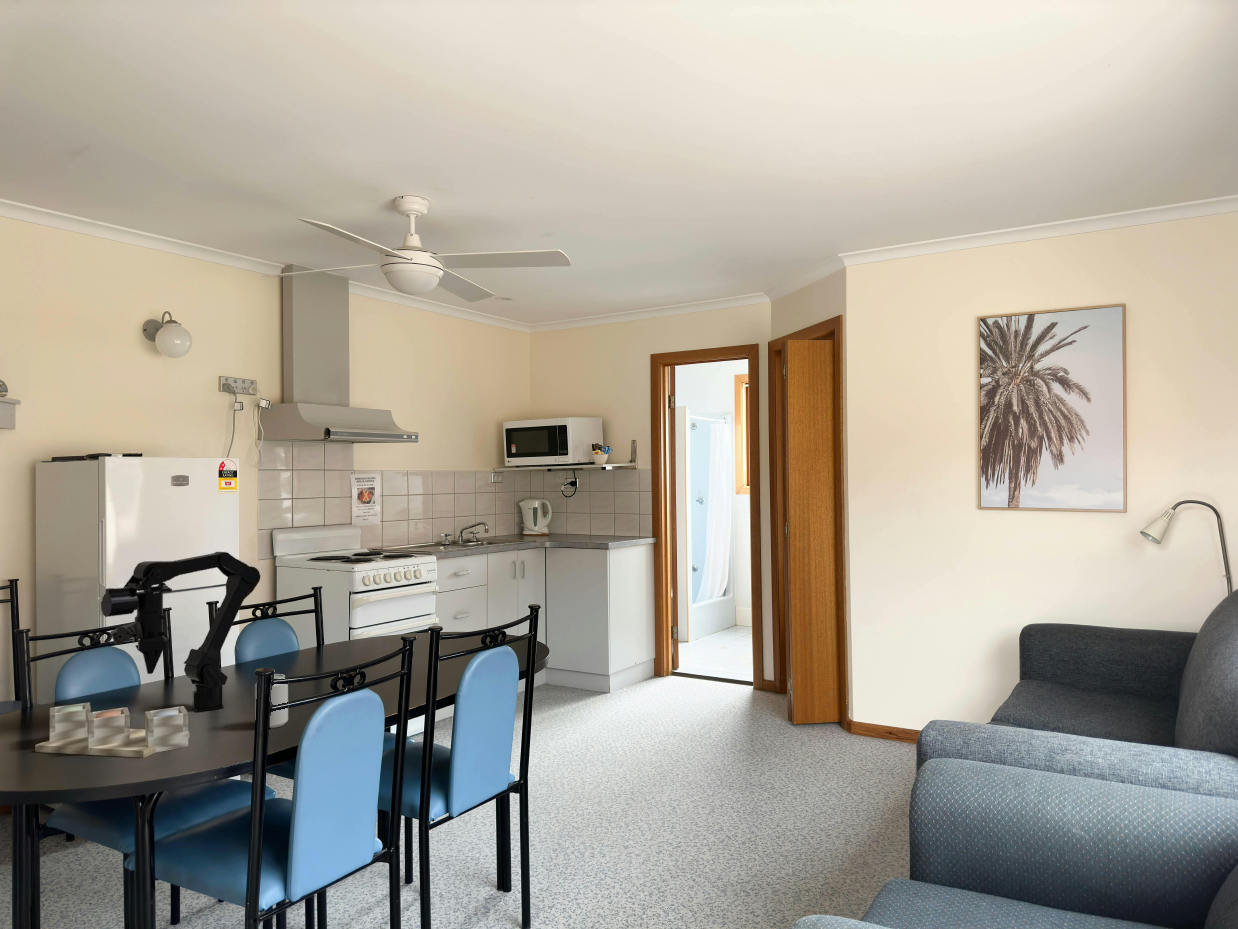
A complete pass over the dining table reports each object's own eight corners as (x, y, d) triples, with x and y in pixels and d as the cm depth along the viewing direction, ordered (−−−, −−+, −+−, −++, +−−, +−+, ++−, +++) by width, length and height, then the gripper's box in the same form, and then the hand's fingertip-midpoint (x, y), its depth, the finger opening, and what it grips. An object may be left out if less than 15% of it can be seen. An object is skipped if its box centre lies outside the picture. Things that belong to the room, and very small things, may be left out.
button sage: (82, 717, 194) (82, 704, 194) (82, 722, 190) (82, 709, 190) (57, 721, 191) (57, 708, 191) (57, 725, 187) (57, 712, 187)
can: (275, 730, 196) (275, 680, 196) (248, 729, 197) (247, 679, 197) (294, 721, 203) (294, 673, 203) (267, 720, 204) (267, 672, 205)
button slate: (177, 721, 189) (177, 708, 189) (179, 726, 185) (179, 713, 185) (153, 725, 186) (153, 712, 186) (155, 730, 182) (155, 716, 182)
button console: (72, 732, 197) (72, 701, 197) (206, 738, 190) (206, 706, 190) (18, 751, 183) (18, 717, 183) (160, 758, 176) (160, 723, 176)
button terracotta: (120, 722, 188) (120, 709, 189) (121, 727, 185) (121, 714, 185) (95, 726, 186) (95, 713, 186) (96, 731, 182) (96, 717, 182)
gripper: (110, 610, 209) (110, 671, 209) (114, 619, 194) (114, 685, 193) (160, 606, 215) (160, 665, 215) (168, 614, 200) (168, 678, 200)
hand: (150, 673), depth 206 cm, fingers closed
